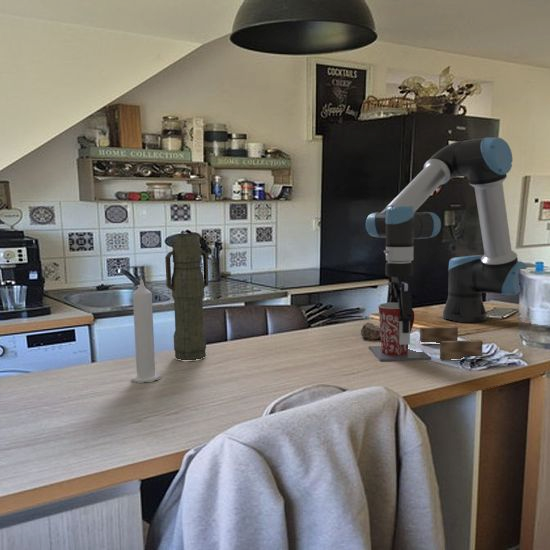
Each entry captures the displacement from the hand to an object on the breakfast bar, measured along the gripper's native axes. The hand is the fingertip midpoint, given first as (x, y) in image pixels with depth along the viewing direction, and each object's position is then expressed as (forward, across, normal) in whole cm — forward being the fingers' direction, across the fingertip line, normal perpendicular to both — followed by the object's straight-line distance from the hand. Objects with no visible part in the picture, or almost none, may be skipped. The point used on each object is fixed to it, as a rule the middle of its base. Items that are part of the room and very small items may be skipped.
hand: (398, 339), depth 157 cm
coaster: (+4, 0, 0) cm, 4 cm away
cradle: (+4, -1, +15) cm, 16 cm away
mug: (+4, 0, 0) cm, 4 cm away
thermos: (+4, -3, -59) cm, 59 cm away
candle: (+4, +16, -68) cm, 70 cm away
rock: (+5, -21, -2) cm, 21 cm away
